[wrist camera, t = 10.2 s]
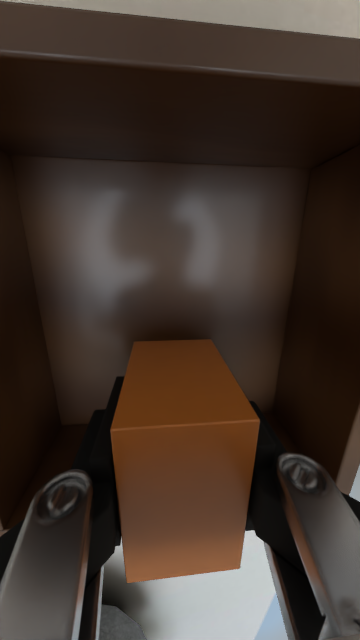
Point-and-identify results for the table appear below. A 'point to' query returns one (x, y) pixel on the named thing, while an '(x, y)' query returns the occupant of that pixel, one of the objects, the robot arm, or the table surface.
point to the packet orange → (182, 461)
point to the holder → (175, 225)
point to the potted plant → (118, 625)
